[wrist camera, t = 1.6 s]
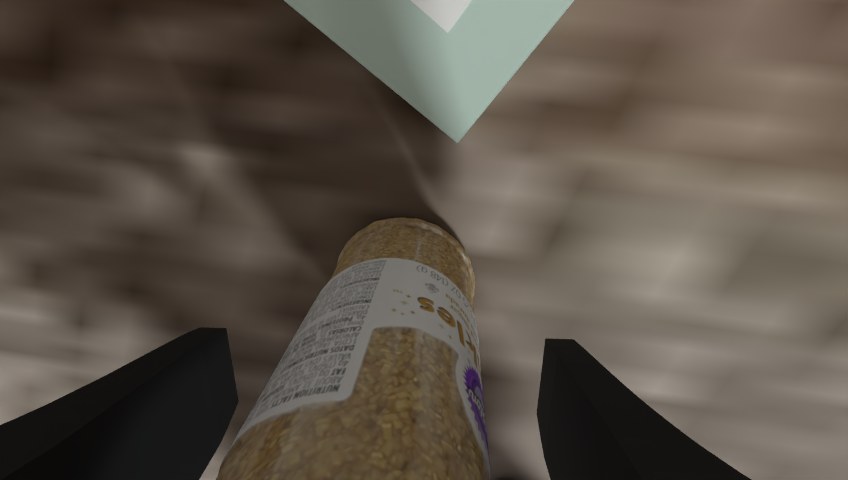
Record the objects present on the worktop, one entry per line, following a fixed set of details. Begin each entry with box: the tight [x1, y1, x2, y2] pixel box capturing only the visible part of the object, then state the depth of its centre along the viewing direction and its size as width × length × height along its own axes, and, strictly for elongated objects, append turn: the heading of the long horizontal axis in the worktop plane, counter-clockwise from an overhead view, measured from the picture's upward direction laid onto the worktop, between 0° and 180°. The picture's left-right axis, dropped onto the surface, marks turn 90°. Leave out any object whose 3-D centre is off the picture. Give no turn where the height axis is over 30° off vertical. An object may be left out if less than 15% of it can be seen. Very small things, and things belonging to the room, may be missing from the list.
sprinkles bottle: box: [216, 217, 491, 480], centre depth 9 cm, size 5×5×14 cm
